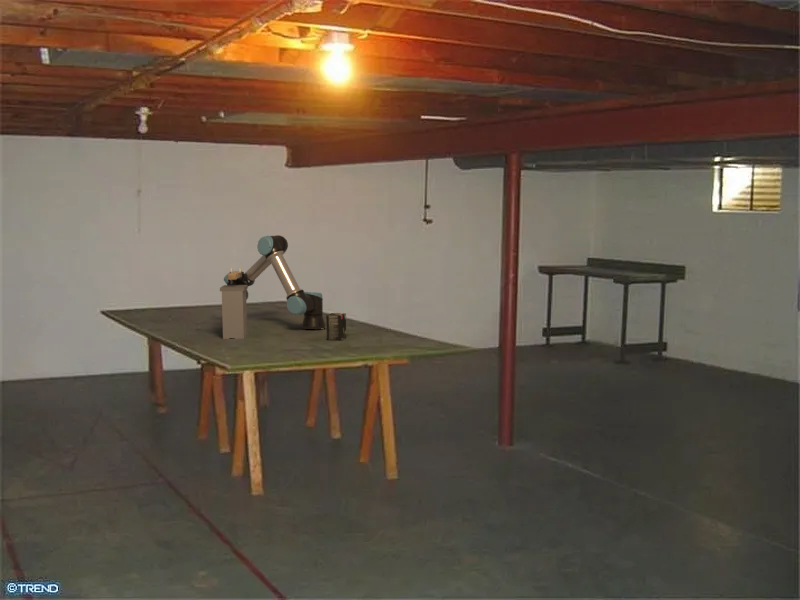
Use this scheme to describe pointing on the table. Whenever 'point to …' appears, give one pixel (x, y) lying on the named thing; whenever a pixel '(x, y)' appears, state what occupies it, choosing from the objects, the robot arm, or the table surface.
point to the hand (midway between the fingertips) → (235, 270)
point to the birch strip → (234, 275)
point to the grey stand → (234, 311)
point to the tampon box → (336, 326)
